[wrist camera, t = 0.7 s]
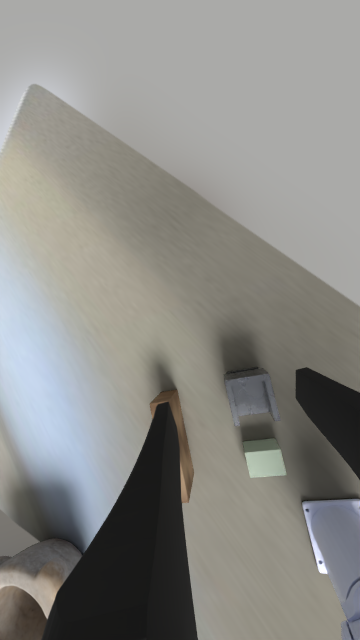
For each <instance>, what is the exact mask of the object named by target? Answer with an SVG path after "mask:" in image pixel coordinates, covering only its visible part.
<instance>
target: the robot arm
mask: <svg viewBox="0 0 360 640" xmlns="http://www.w3.org/2000/svg"><path fill="white" fill-rule="evenodd" d="M296 399H297V401H298V402H299V404H300V405H301V407H302V408H303V410H304V411H305V413H306V414H307V416H308V417H309V418H310V419H311V420H312V422H313V423H314V424H315V425H316V426H317V428H318V429H319V430H320V431H321V432H322V434H323V435H324V436H325V437H326V438H327V439H328V441H329V442H330V443H331V444H332V445H333V446H334V448H335V449H336V450H337V451H338V452H339V454H340V455H341V456H342V457H343V458H344V460H345V461H346V462H347V463H348V465H349V466H350V467H351V468H352V470H353V471H354V473H355V474H356V475H357V477H358V478H359V480H360V393H359V392H357V391H355V390H353V389H350V388H348V387H346V386H344V385H342V384H340V383H338V382H336V381H334V380H332V379H330V378H328V377H326V376H324V375H322V374H320V373H318V372H315V371H313V370H311V369H309V368H307V367H306V368H302V369H298V370H296ZM302 507H303V511H304V515H305V519H306V523H307V527H308V531H309V535H310V539H311V543H312V547H313V551H314V555H315V559H316V563H317V567H318V570H319V571H320V572H321V573H328V575H329V578H330V580H331V582H332V585H333V587H334V589H335V591H336V594H337V596H338V598H339V600H340V603H341V606H342V609H343V611H344V613H345V616H346V618H347V620H348V622H349V623H348V622H347V621H343V622H342V623H341V628H342V634H341V636H342V640H360V508H359V507H360V499H343V500H322V501H304V502H302ZM306 509H308V510H306ZM319 560H321V561H319ZM41 640H198V637H197V630H196V622H195V614H194V607H193V599H192V591H191V583H190V574H189V566H188V558H187V549H186V540H185V531H184V522H183V512H182V499H181V471H180V446H179V438H178V430H177V425H176V422H175V419H174V416H173V413H172V410H171V407H170V404H169V401H168V402H164V403H160V404H158V405H157V406H156V410H155V413H154V417H153V420H152V423H151V426H150V429H149V432H148V434H147V437H146V440H145V442H144V445H143V447H142V450H141V452H140V454H139V457H138V459H137V462H136V464H135V466H134V468H133V470H132V472H131V474H130V476H129V478H128V480H127V482H126V484H125V486H124V488H123V490H122V492H121V494H120V495H119V497H118V499H117V501H116V503H115V505H114V506H113V508H112V510H111V512H110V513H109V515H108V517H107V518H106V520H105V521H104V523H103V525H102V526H101V528H100V529H99V531H98V533H97V534H96V536H95V537H94V539H93V541H92V542H91V544H90V545H89V547H88V548H87V550H86V551H85V553H84V554H83V556H82V557H81V559H80V560H79V561H78V563H77V564H76V566H75V567H74V569H73V570H72V571H71V573H70V574H69V576H68V577H67V579H66V580H65V581H64V583H63V584H62V586H61V587H60V589H59V590H58V591H57V594H56V597H55V600H54V603H53V605H52V608H51V610H50V613H49V616H48V619H47V622H46V625H45V629H44V632H43V635H42V639H41Z"/></svg>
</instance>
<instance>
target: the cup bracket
mask: <svg viewBox="0 0 360 640" xmlns="http://www.w3.org/2000/svg"><path fill="white" fill-rule="evenodd" d="M224 381H225V385H226V390H227V394H228V398H229V403H230V407H231V412H232V416H233V421H234V425H235V426H239V425H240V423H239V418H238V416H243V415H250V414H258V413H266V412H270V414H271V416H272V417H273V419H274V420H275V421H281V420H280V416H279V412H278V408H277V404H276V400H275V396H274V392H273V388H272V384H271V380H270V376H269V373H268V372H267V371H265V370H264V369H263V368H260V369H258V367H254V368H248V369H242V370H236V371H231V372H227V374H225V375H224Z"/></svg>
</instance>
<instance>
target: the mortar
mask: <svg viewBox="0 0 360 640" xmlns="http://www.w3.org/2000/svg"><path fill="white" fill-rule="evenodd" d="M81 557H82V554H81V553H80V551H79V550H78V549H77V548H76V547H75V546H74V545H73V544H71V543H70V542H68V541H66V540H63V539H48V540H45V541H42V542H39V543H37V544H35V545H32V546H30V547H28V548H26V549H25V550H23V551H21V552H20V553H18V554H16V555H15V556H13V557H9V556H1V557H0V640H41V639H42V635H43V632H44V629H45V625H46V622H47V619H48V616H49V613H50V610H51V608H52V605H53V603H54V600H55V597H56V594H57V591H58V590H59V589H60V587H61V586H62V584H63V583H64V581H65V580H66V579H67V577H68V576H69V574H70V573H71V571H72V570H73V569H74V567H75V566H76V564H77V563H78V561H79V560H80V559H81Z"/></svg>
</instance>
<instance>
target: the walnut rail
mask: <svg viewBox="0 0 360 640" xmlns="http://www.w3.org/2000/svg"><path fill="white" fill-rule="evenodd" d="M168 401H169V404H170V407H171V410H172V413H173V416H174V419H175V422H176V425H177V430H178V438H179V446H180V471H181V499H182V503H189V498H190V492H191V487H192V482H193V476H194V470H193V465H192V461H191V456H190V451H189V446H188V441H187V436H186V431H185V426H184V421H183V416H182V411H181V406H180V401H179V396H178V391H177V390H171V391H165V392H161V393H160V394H159V395H158V396H157V397H156V398H155V399H154V400H153V401H152V402H151V403H150V408H151V414H152V419H153V417H154V413H155V410H156V406H157V405H158V404H160V403H164V402H168Z"/></svg>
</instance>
